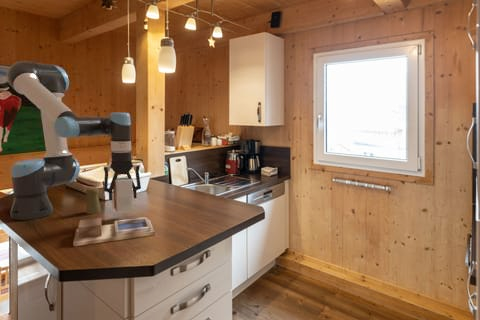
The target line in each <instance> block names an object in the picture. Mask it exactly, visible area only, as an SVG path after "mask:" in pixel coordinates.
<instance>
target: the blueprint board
mask: <svg viewBox="0 0 480 320" xmlns="http://www.w3.org/2000/svg"><path fill="white" fill-rule="evenodd" d="M102 222H103V221H102V217H96V218H87V219H80V220H79V224H78V228H76V229H75V234H74V238H73V243H72V244H73V247H79V246H86V245H94V244H99V243H100V244H101V243H107V242H114V241H115V242H116V241H121V240H127V239H128V240H129V239H136V238H143V237H150V236H155V234H156V231H155V228H154V227H153V224H152V223H151V219H149V218H148V216H146V217H136V218H128V219H122V220H121V219H120V220H114V223H112V224H104V225H102Z"/></svg>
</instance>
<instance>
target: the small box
mask: <svg viewBox="0 0 480 320" xmlns="http://www.w3.org/2000/svg"><path fill="white" fill-rule="evenodd" d="M132 180H133V178H132V179H128V176H127V175H126V176H125V175H124V176H123V175H122V176H117V179H116V180H114V184H115V185H114V187H113V190H112V191H114V206H115V209H114V210H115V211H116V214H119V213H120V214H121V213H128V212H133V211H134V207H133V192H132V190H133V188H132Z"/></svg>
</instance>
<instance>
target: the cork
mask: <svg viewBox="0 0 480 320" xmlns="http://www.w3.org/2000/svg"><path fill="white" fill-rule="evenodd" d="M99 193H100V190H99V188H98V187H92V186H91V187H88V188H86V190H85V194H86V196H87V199H86V210H85V211H86V212H85V213H86V214H87V215H96V214H100V213H101V212H102V208H101V204H100V198H99Z"/></svg>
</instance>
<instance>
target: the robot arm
mask: <svg viewBox="0 0 480 320" xmlns="http://www.w3.org/2000/svg"><path fill="white" fill-rule="evenodd" d="M6 73H7V74H6V78H7V82H8V84H9V86H11V87H12V89H13V90H14V92H15V91H16V93H18V94H20V95H24V97H26V98H27V99H28V100H29V101H30V102H31V103H32V104H33V105H35V106H36V107H37V109H39V110H40V117H41V123H42V130H43V138H44V145H45V151H46V152H45V154H44V155H43V156H42V158H37V157H36V158H28V159H23V160H19V161H17V162H14V163H13V164H12V165H11V168H10V169H11V170H10V171H11V172H10V173H11V174H10V176H11V182H12V190H13V191H12V192H13V202H12V204H11V205H12V206H11V209H10V211H9V212H10V213H9V214H10V215H9V216H10V219H11V220H16V221H27V220H36V219H39V218H44V217H46V216H49V215H51V214H52V213H54V207H53V205H52V203H51V201H50V199H49V196H48V193H47V188H50V187H55V186H59V185H67V184H69V183H73V182H74V181H76V180H77V178H78V177H79V175H80V171H81V170H80V169H81V167H80V162H79V161H78V159H77V158H75V157H73V153H72V152H71V151H69V149H68V139H67V138H69V139H73V138H83V137H98V136H109V137H110V150H111V151H112V152H111V163H110V165H105V166H103V171H104V183H103V192H107V193H108V201H111V203H112V206H111V207H112V209H113V210H115V206H114V191H113V187H114V185H115V184H114V180H116V179H117V177H119V176H120V175H124V176H125V175H126V176H128V179H132V192H133V208H134V207H135V199H136V198H137V191H138V190H141V188H142V187H141V185H142V184H141V179H140V169H141V168H140V165H139V164H133V161H132V158H133V157H132V152H131V151H132V137H131V136H132V134H131V131H132V130H131V128H132V123H131V115H130V113H129V112H110V114H109V116H100V115H99V116H98V115H96V116H78V115H77V114H76V113H74V111H72V110H71V108H70V107H68V106H66V104H65V103H64V102H62V99H63V97H65V92H66V91H67V90H68V89H69V85H70V80H69V76H68V74H67V72H66V71H65V70H64V69H63V68H62V67H61V66H58V65H55V64H51V63H43V62H42V63H41V62H34V61H29V60H28V61H27V60H20V61H17V62H14V63H13V64H11V66H10V67H9V68H8V70H7V72H6ZM132 169H133V170H134V172H135V181H136V185H135V183H134V180H133V177H132V176H131V170H132ZM111 170H112V171H113V172H114V173H113V175H112V176H113V177H112V180H111V182H110V186H109V187H108V183H109V172H111Z"/></svg>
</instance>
